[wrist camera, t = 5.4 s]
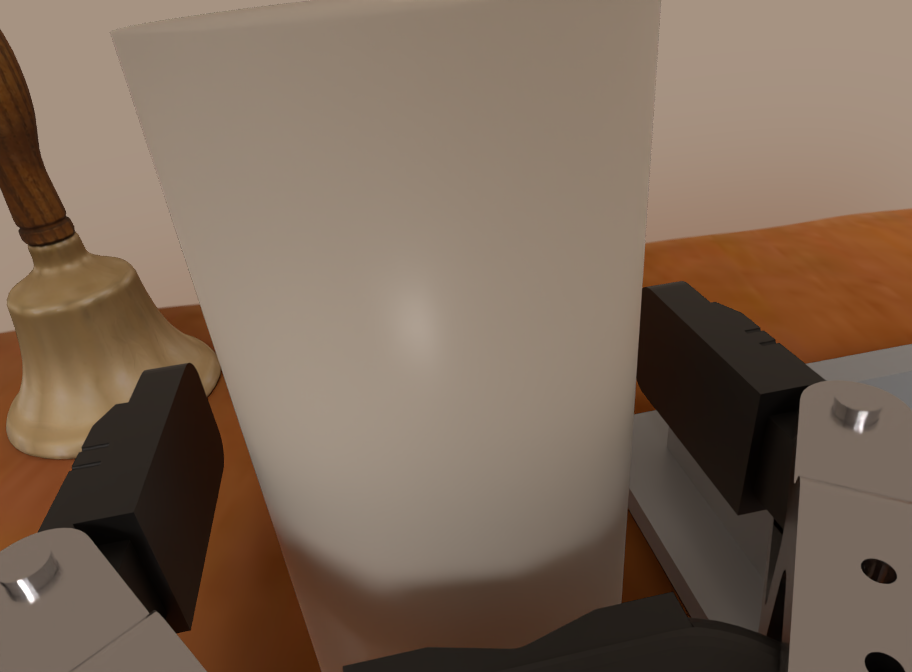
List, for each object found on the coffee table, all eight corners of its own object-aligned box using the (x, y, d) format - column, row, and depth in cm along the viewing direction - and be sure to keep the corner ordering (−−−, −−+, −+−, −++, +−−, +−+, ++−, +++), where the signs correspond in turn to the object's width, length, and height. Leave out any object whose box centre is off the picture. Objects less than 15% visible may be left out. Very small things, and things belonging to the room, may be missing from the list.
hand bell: (201, 439, 24) (10, -68, 15) (-34, 477, 23) (-360, -33, 15) (235, 331, 31) (116, -54, 23) (57, 358, 30) (-130, -30, 22)
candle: (350, 893, 11) (1, 56, 4) (341, 610, 17) (175, 14, 10) (663, 810, 12) (796, -31, 5) (561, 562, 17) (557, -27, 10)
